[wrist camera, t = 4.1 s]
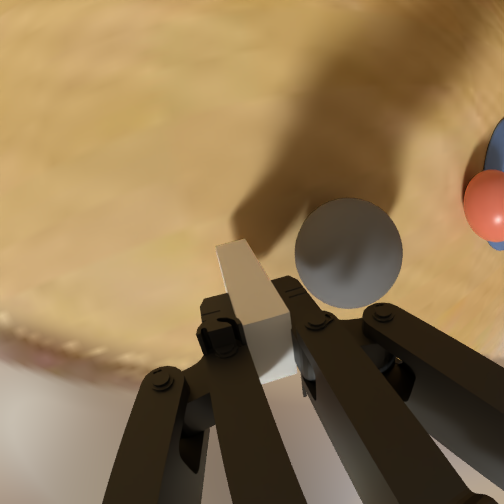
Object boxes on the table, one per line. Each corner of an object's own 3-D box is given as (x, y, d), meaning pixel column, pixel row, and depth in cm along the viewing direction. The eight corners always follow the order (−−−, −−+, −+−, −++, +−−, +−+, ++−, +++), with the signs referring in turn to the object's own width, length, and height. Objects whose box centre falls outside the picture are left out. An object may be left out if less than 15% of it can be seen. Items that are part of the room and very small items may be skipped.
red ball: (485, 161, 18) (536, 175, 13) (483, 221, 20) (529, 242, 15) (450, 166, 17) (509, 182, 12) (448, 235, 19) (500, 261, 14)
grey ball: (361, 181, 16) (427, 203, 11) (365, 265, 18) (419, 306, 13) (273, 199, 15) (318, 231, 10) (287, 289, 17) (326, 346, 12)
